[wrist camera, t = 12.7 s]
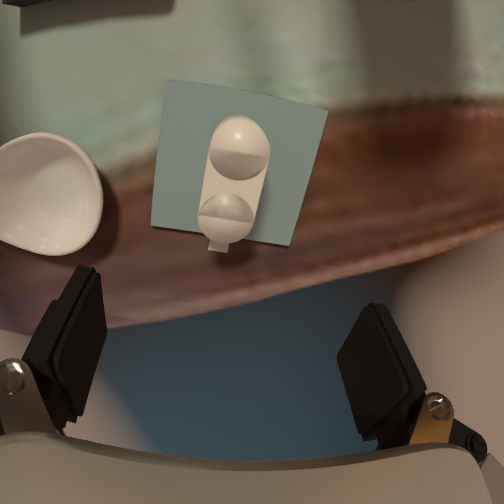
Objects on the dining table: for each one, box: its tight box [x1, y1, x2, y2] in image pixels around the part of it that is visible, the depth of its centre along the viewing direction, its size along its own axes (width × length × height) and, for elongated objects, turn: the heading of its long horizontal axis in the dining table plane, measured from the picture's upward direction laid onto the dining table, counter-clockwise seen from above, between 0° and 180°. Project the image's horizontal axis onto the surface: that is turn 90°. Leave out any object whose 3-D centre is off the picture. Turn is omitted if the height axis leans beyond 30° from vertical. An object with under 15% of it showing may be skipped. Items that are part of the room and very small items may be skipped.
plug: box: [198, 113, 270, 253], centre depth 24 cm, size 11×4×5 cm, turn 168°
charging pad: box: [151, 80, 328, 246], centre depth 26 cm, size 13×13×1 cm
